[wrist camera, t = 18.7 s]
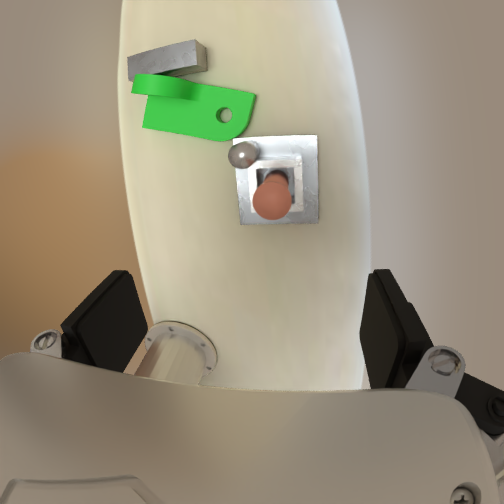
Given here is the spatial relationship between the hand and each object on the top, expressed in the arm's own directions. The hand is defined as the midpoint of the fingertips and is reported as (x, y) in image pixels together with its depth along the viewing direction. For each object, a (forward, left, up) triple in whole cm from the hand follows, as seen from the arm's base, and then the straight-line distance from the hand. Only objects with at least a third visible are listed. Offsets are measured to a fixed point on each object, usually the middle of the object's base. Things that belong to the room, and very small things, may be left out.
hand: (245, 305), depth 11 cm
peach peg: (0, 0, -23) cm, 23 cm away
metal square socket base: (0, 0, -24) cm, 24 cm away
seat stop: (+15, +11, -24) cm, 30 cm away
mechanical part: (+9, +8, -24) cm, 27 cm away
